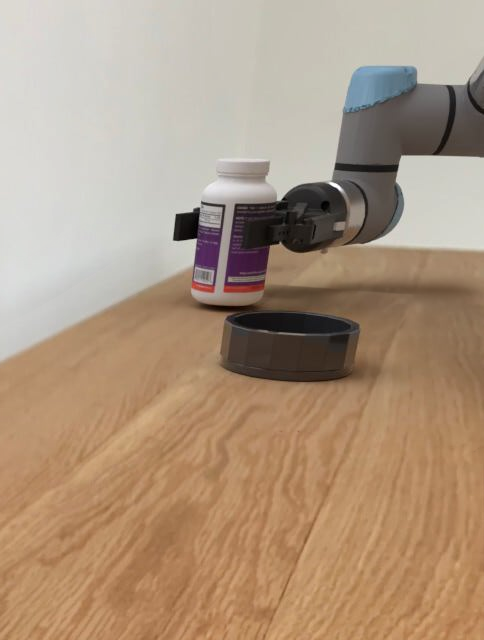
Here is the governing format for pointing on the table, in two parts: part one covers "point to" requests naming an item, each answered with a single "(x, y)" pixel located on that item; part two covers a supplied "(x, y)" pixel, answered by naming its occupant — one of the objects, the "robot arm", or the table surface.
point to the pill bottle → (232, 234)
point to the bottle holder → (289, 345)
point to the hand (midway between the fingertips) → (210, 231)
